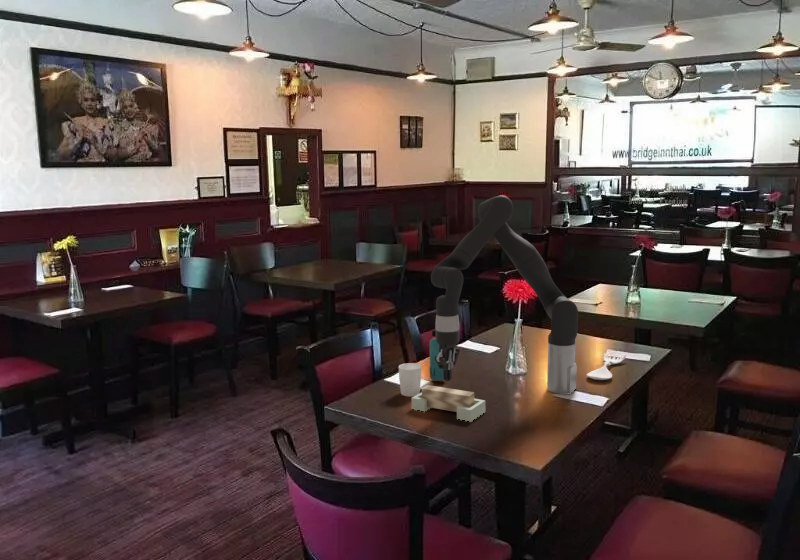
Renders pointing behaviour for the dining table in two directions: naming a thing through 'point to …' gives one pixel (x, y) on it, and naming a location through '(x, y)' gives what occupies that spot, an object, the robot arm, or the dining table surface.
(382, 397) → the dining table surface
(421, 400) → the end cap
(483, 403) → the end cap
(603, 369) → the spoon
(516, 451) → the dining table surface
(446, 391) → the wooden block
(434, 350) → the beverage bottle
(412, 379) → the white cup
